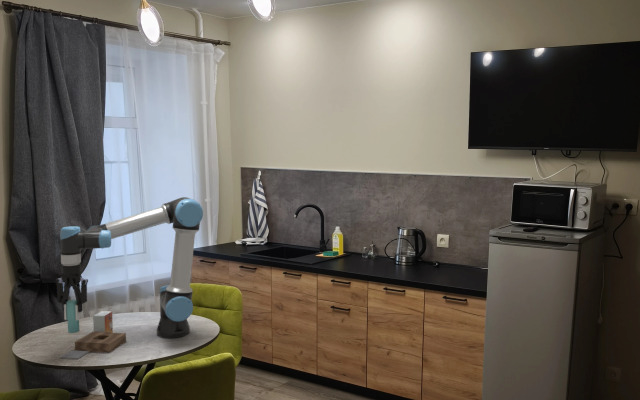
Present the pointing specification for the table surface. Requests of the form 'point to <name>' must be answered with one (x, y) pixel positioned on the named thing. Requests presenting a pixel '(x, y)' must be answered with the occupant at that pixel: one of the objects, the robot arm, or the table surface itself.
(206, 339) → the table surface
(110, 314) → the small box
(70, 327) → the plug
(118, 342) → the wooden block with hole
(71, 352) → the mat
